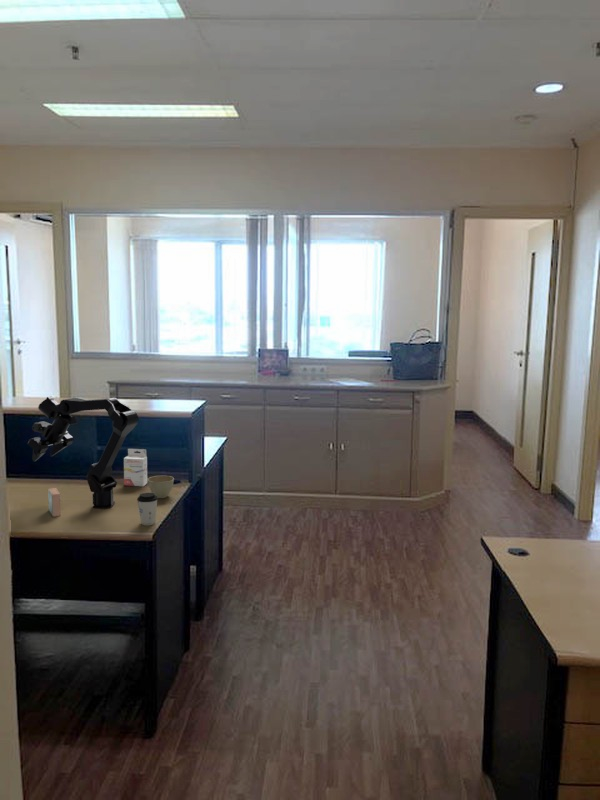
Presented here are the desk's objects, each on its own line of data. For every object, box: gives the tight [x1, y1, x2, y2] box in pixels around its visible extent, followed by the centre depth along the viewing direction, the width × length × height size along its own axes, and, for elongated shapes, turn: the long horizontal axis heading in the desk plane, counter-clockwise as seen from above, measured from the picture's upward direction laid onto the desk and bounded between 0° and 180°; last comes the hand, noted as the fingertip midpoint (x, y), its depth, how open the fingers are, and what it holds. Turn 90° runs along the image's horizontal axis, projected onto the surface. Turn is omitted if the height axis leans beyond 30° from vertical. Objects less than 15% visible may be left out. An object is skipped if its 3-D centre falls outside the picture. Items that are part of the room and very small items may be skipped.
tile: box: [47, 487, 62, 517], centre depth 217 cm, size 3×8×8 cm, turn 31°
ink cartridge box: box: [123, 448, 148, 487], centre depth 252 cm, size 9×5×15 cm, turn 84°
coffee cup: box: [136, 492, 159, 526], centre depth 207 cm, size 7×7×10 cm
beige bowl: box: [147, 475, 175, 499], centre depth 237 cm, size 10×10×7 cm
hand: (42, 458), depth 233 cm, fingers open, 9 cm apart
